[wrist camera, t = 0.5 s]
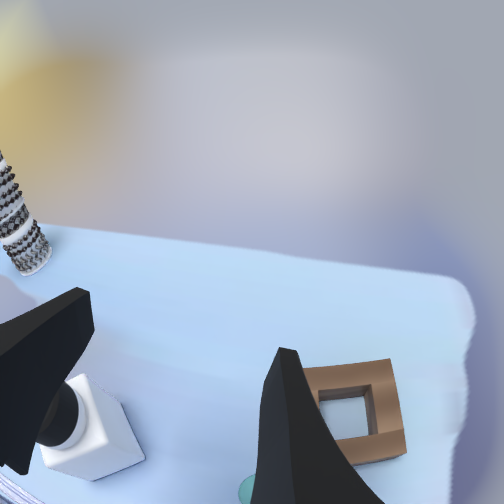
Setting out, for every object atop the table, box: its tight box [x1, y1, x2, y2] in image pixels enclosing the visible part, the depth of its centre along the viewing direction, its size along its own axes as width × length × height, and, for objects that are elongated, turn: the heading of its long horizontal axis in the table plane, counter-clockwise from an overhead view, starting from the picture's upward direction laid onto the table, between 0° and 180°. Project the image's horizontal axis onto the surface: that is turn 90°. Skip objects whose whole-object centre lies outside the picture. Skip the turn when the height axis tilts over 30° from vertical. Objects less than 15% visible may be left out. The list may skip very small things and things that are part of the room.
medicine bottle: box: [36, 374, 145, 481], centre depth 18 cm, size 7×7×12 cm
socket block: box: [303, 359, 407, 466], centre depth 21 cm, size 9×9×3 cm
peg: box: [238, 475, 255, 504], centre depth 16 cm, size 3×3×6 cm
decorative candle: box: [0, 151, 52, 276], centre depth 37 cm, size 9×9×25 cm
